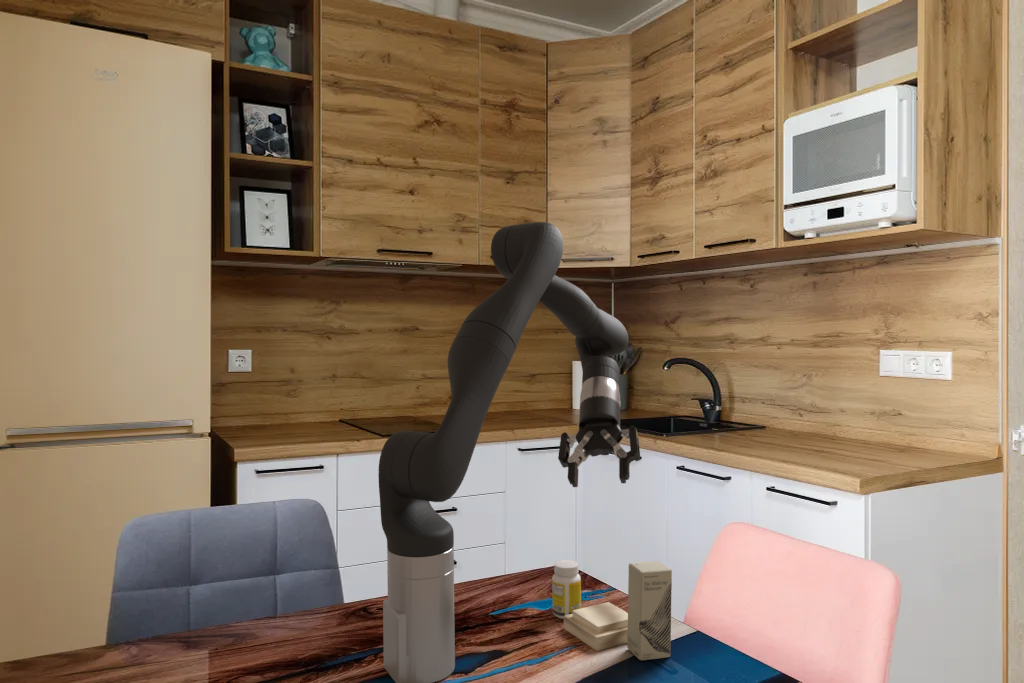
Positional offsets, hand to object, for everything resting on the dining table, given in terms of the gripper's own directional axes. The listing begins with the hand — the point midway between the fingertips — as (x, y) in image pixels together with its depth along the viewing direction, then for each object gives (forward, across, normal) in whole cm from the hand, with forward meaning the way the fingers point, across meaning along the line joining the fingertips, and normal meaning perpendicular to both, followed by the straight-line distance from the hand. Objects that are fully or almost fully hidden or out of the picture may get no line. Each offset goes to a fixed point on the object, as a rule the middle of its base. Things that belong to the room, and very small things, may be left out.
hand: (598, 483), depth 122 cm
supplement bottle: (+19, -7, +9) cm, 22 cm away
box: (+27, +8, +3) cm, 29 cm away
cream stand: (+23, 0, +6) cm, 24 cm away
